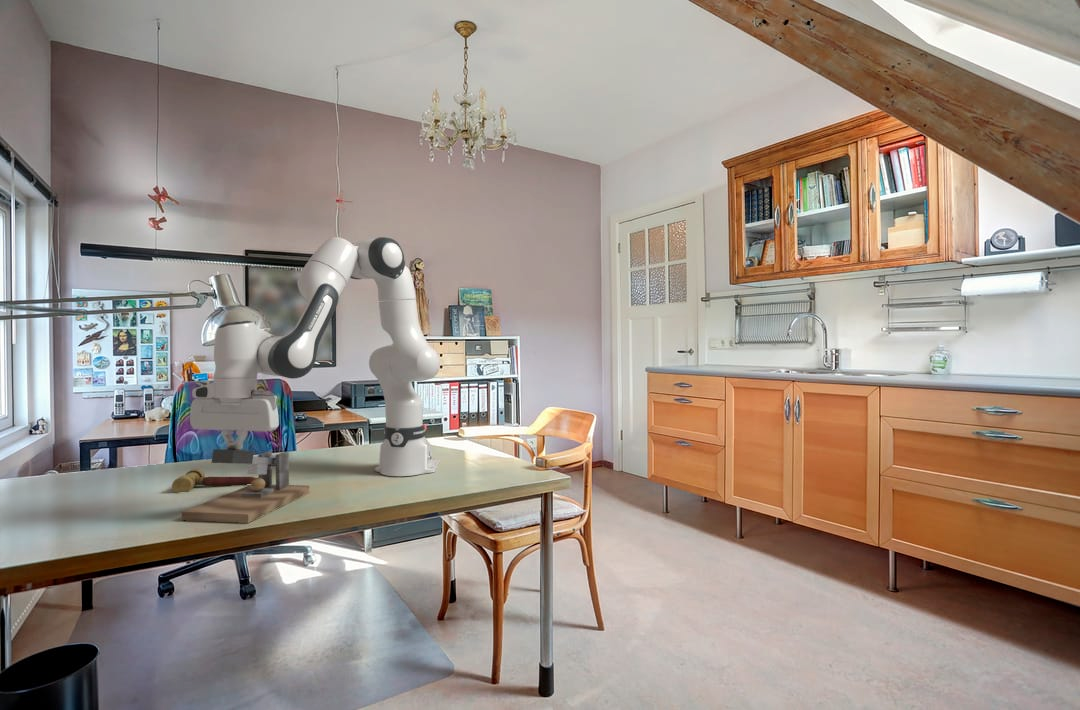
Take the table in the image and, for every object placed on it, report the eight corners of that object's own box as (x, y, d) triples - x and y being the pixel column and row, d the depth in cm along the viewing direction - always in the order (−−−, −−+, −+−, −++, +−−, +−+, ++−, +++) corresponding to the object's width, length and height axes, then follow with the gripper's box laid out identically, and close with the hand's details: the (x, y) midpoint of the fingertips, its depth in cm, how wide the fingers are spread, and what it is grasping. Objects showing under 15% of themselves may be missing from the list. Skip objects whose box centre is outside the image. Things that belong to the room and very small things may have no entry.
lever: (266, 473, 138) (269, 452, 139) (284, 474, 137) (286, 452, 138) (209, 474, 118) (213, 449, 119) (230, 475, 118) (233, 449, 119)
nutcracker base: (253, 491, 141) (252, 450, 141) (309, 493, 139) (308, 451, 139) (181, 520, 117) (181, 471, 117) (248, 523, 115) (247, 473, 115)
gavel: (268, 469, 154) (259, 477, 145) (267, 484, 154) (258, 494, 145) (187, 468, 149) (172, 477, 139) (186, 485, 149) (171, 494, 139)
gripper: (285, 390, 125) (284, 448, 125) (206, 388, 127) (205, 445, 127) (268, 391, 118) (267, 453, 118) (185, 390, 121) (184, 450, 121)
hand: (234, 449), depth 123 cm, fingers closed, pressing on lever
